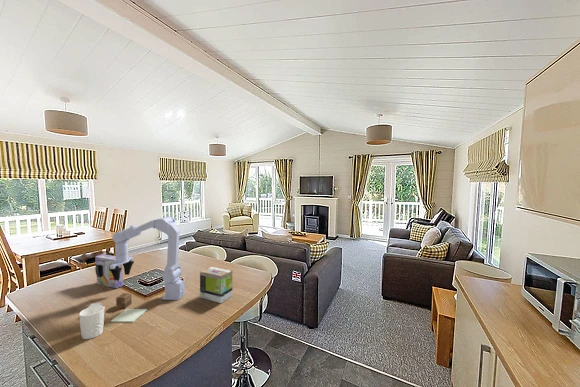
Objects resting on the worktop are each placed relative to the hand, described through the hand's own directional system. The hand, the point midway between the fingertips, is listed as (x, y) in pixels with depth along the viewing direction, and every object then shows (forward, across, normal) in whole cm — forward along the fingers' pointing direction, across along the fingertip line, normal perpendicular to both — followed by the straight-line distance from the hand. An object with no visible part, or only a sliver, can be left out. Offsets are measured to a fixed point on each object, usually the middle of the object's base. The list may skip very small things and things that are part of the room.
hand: (122, 277), depth 129 cm
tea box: (+10, -1, +52) cm, 53 cm away
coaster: (+10, +19, +18) cm, 28 cm away
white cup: (+10, +33, +12) cm, 37 cm away
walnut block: (+10, +11, +9) cm, 17 cm away
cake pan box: (+10, -12, -17) cm, 23 cm away
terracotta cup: (+10, +21, +5) cm, 24 cm away
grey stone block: (+10, +18, 0) cm, 21 cm away
